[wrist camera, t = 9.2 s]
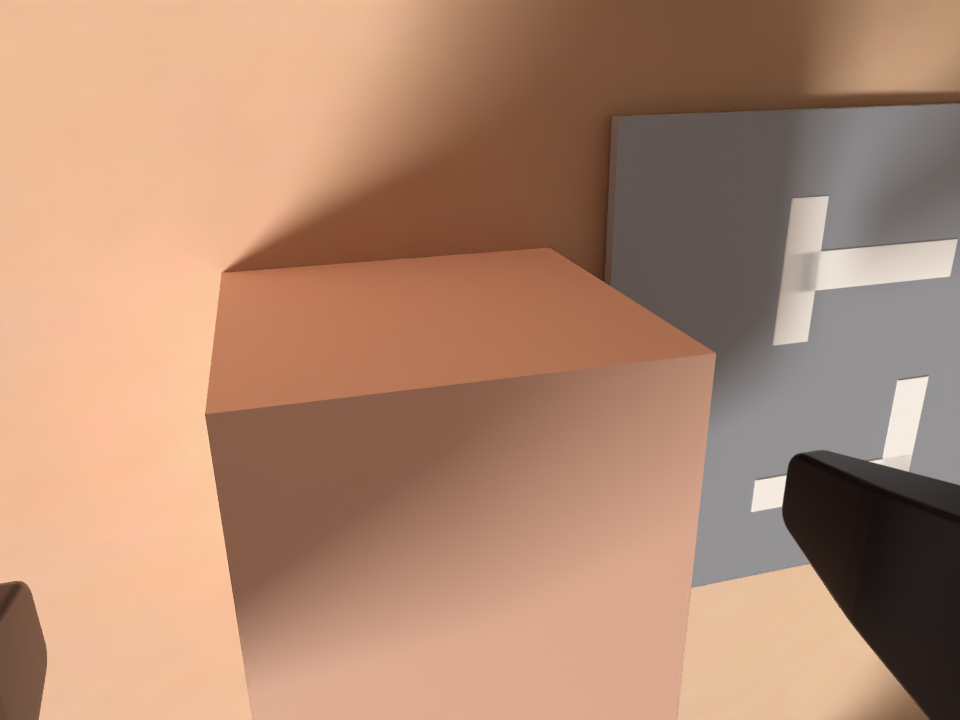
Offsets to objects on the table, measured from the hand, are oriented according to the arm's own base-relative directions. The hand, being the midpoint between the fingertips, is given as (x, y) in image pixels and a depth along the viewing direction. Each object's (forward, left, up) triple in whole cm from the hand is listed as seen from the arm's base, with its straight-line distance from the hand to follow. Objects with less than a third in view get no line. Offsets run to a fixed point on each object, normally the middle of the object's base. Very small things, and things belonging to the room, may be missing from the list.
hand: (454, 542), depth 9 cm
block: (0, 0, -4) cm, 4 cm away
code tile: (0, -9, -4) cm, 9 cm away
